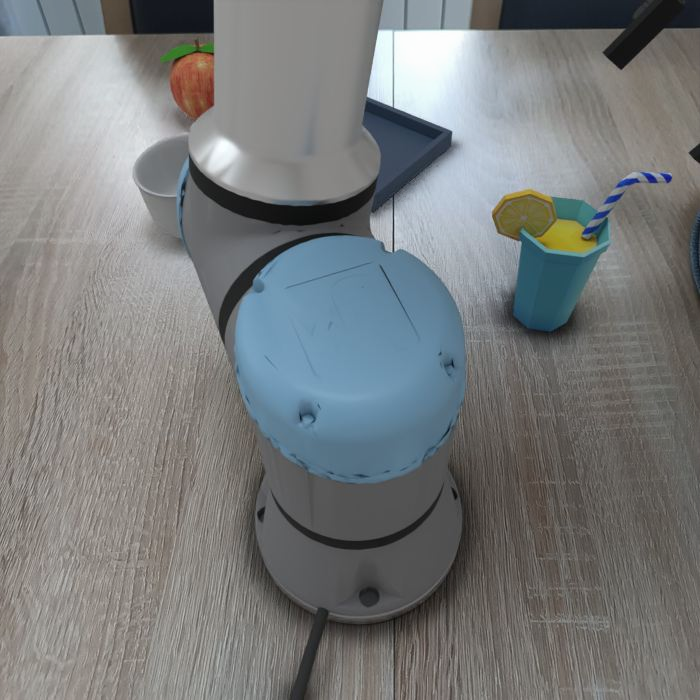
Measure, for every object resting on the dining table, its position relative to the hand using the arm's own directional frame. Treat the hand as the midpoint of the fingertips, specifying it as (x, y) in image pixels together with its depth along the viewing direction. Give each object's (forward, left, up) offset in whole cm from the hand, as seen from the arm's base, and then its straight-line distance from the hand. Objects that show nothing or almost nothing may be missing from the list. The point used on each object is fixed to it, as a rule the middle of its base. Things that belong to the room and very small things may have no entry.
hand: (651, 108), depth 55 cm
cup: (-10, 0, -16) cm, 19 cm away
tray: (-1, +31, -16) cm, 35 cm away
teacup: (-20, +37, -16) cm, 45 cm away
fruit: (-6, +51, -16) cm, 54 cm away
